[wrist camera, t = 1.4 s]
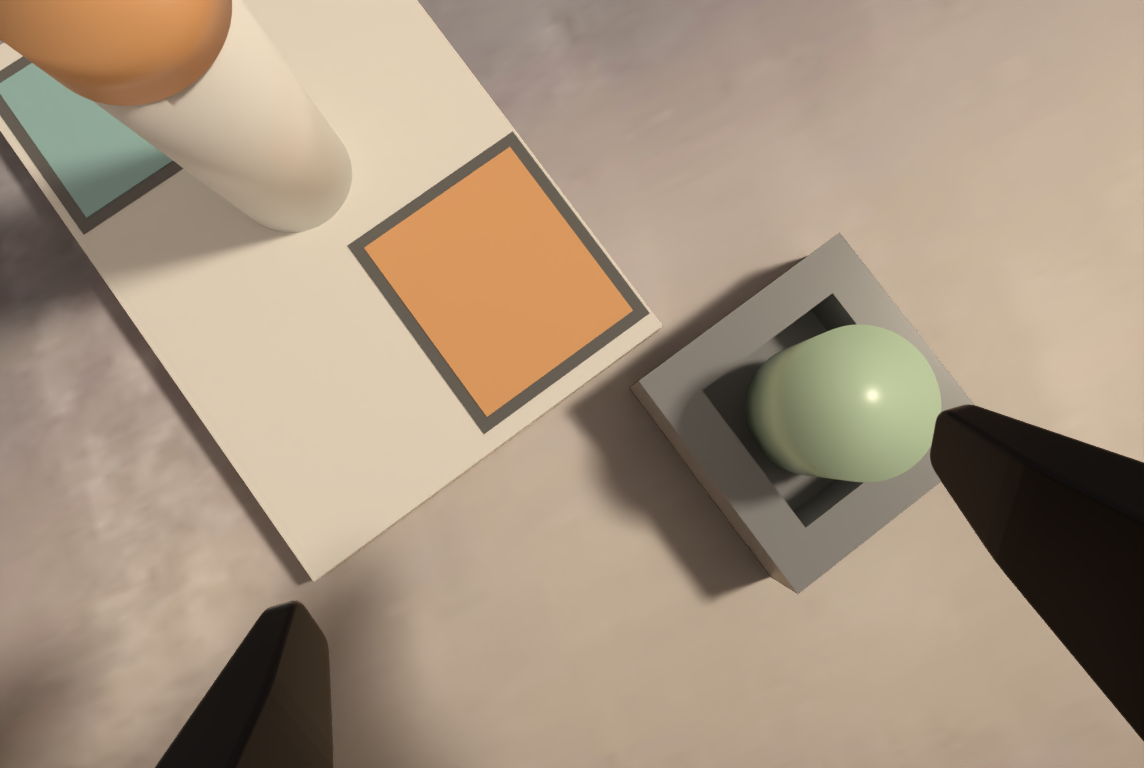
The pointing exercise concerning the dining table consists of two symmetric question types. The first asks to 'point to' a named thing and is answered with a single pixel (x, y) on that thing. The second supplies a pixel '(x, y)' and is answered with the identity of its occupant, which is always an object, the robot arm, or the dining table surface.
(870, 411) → the button
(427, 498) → the colouring mat
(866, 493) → the button housing
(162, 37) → the marker
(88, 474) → the dining table surface
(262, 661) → the robot arm
